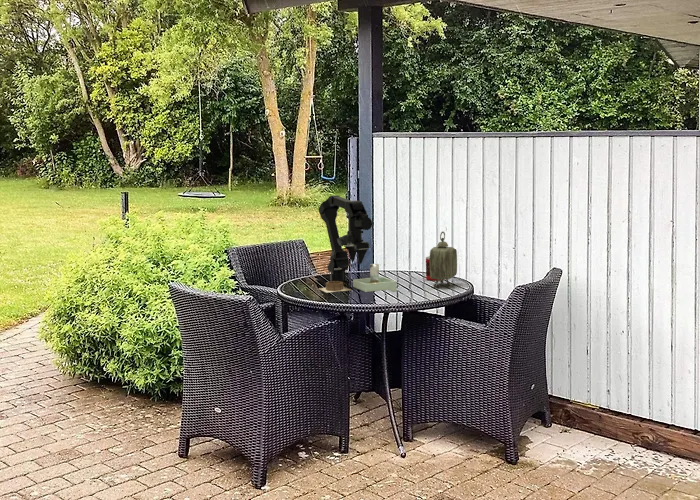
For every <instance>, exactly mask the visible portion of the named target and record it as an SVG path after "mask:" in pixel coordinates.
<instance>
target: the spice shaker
mask: <svg viewBox="0 0 700 500" xmlns="http://www.w3.org/2000/svg"><path fill="white" fill-rule="evenodd" d="M379 277H380V264H378V263H369V278H370V282H369V284H372V283H380V282H379Z"/></svg>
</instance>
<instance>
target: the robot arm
mask: <svg viewBox="0 0 700 500" xmlns="http://www.w3.org/2000/svg"><path fill="white" fill-rule="evenodd" d="M340 208H341V209H344V212H346V213H347V216H346V219H348V230H347V231H346V234H344V235H342V236H340V234H339V230H338V226H337V222H336V221H337V220H336V219H337V217H338V211H339V210H340ZM318 213H319V216H320V219H321V220H323V223H325V226H326V230H327V235H328V238H329V239H328V240H329V244H330V248H331V254H330V255H329V256H330V257H329V259H330V261H329V263H328V265H327V267H326V268H327V271H328V272H330V274H329V282H331V281H341V282H343V283H344V282H346V271H348V270H349V266H350V261H351V262H355V259H356V256H357V261H358V264H359V265H361V264H362V262H363V261H364V258H365V256H366V254H367V252H368V250H369V249H370V243H369V242H368V241H365V240H364V239H363V236H362V234H363V233H364V231H369V230H370V229H372V227H373V221H372V219H371V218H370V217H369V214H368V212H367V210H366V208H365V206H364V203H363V202H362V201H361V200H349V199H347V198H344V197H342V196H340V195H337V194H336V195H330V196H328V197H327V199H325V200H324V201H323V202H321V203H320V205H319V207H318ZM342 247H344V248H346V250H344V249H343V248H342ZM347 250H348V251H347ZM348 254H349V255H348ZM349 257H350V258H349Z"/></svg>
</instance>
